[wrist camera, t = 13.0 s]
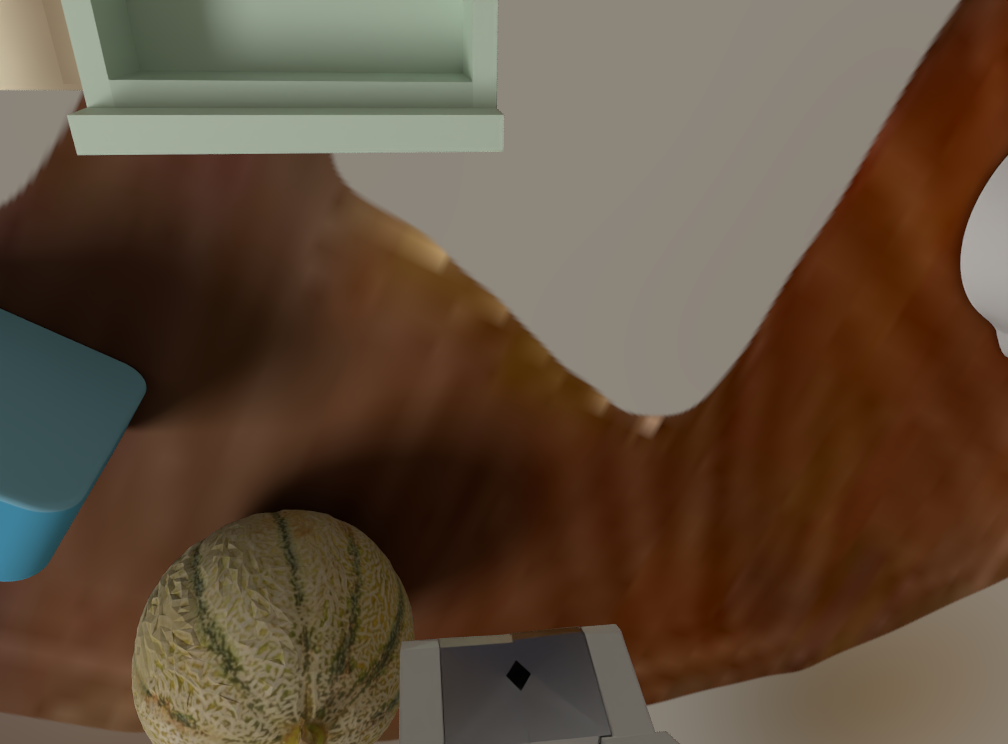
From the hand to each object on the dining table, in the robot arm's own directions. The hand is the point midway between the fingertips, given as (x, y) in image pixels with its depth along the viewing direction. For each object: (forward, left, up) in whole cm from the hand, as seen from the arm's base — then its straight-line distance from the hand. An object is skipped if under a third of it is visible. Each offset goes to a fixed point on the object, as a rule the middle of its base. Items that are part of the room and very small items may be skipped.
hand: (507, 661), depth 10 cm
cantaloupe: (+9, +24, -29) cm, 39 cm away
